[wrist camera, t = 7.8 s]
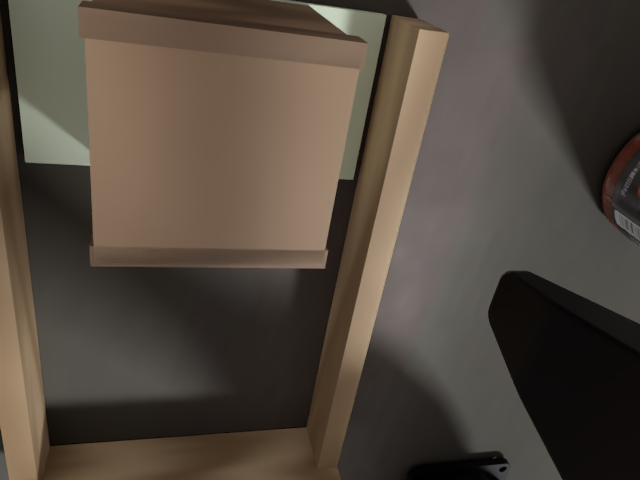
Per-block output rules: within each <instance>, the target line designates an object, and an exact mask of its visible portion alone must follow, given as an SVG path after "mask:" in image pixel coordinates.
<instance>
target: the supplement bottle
mask: <svg viewBox="0 0 640 480" xmlns="http://www.w3.org/2000/svg"><path fill="white" fill-rule="evenodd" d="M602 202H603V210H604V212H605V215H606V217H607V219H608V220H609V222H610V223H611V224H612V225H613V226H614V227H616V228H617V229H618V230H619V231H620V232H621V233H622V234H624V235H625V236H626V237H627V238H629V239H630V240H631V241H633V242H634V243H636V244H637V245H638V246H640V132H639V133H638V134H637V135H636V136H635V137H633V138H632V139H631V140H630V141H629V142H628V143H627V144H626V145H625V146H624V147H623V149H622V150H621V151H620V153H619V154H618V155H617V157H616V158H615V160H614V161H613V163H612V165H611V166H610V169H609V171H608V172H607V175H606V179H605V181H604V183H603V191H602Z"/></svg>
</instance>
